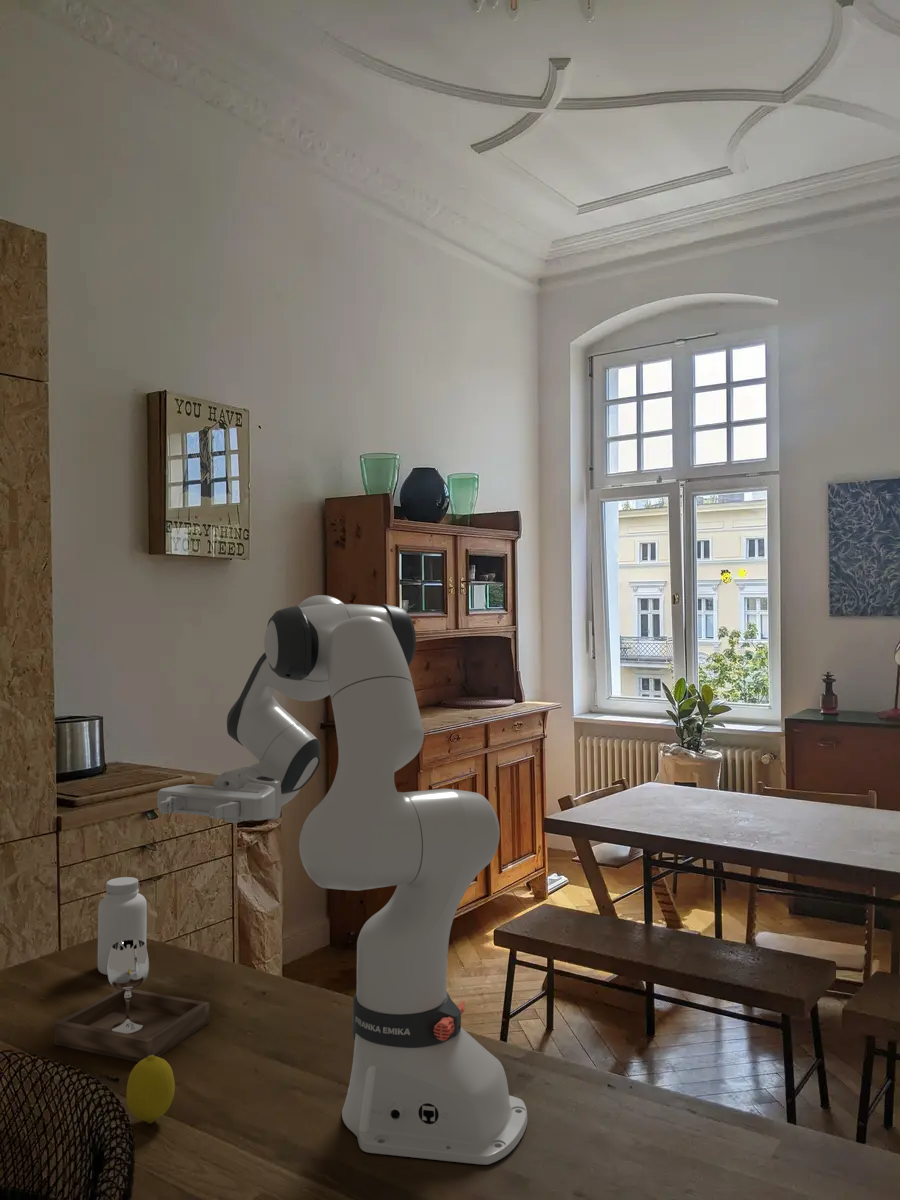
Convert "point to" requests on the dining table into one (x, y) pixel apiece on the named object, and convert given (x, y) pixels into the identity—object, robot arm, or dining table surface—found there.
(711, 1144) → the dining table surface
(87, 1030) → the tray
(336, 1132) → the dining table surface
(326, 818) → the robot arm
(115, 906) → the pill bottle
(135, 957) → the wineglass
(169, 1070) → the lemon
